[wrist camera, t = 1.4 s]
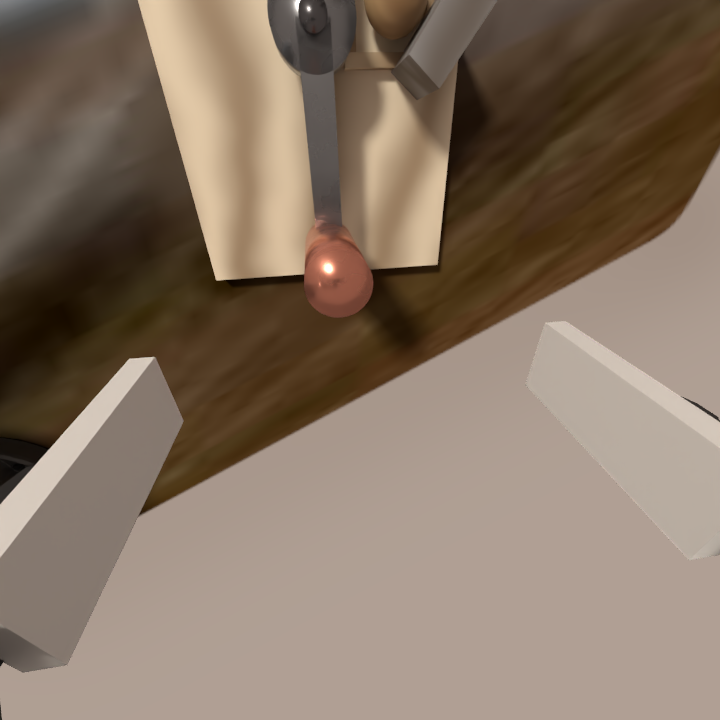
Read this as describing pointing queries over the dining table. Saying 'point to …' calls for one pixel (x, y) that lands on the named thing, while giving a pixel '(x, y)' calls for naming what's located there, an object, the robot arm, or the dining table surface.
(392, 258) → the tapered cream board
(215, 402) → the dining table surface
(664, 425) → the robot arm
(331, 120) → the lever
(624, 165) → the dining table surface
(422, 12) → the walnut
